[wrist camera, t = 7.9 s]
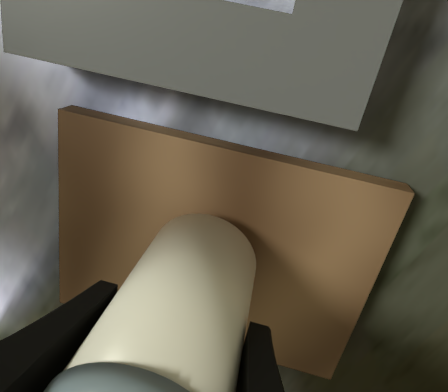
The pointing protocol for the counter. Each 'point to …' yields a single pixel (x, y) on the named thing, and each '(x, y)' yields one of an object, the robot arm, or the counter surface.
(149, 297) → the cartridge
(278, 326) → the board
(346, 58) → the housing
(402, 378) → the counter surface
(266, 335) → the robot arm
